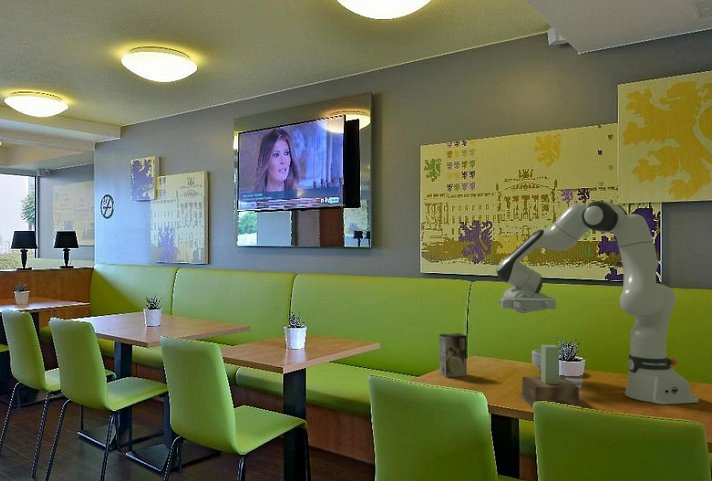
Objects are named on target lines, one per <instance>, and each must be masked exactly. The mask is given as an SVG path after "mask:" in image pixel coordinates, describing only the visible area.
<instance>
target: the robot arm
mask: <svg viewBox="0 0 712 481" xmlns="http://www.w3.org/2000/svg"><path fill="white" fill-rule="evenodd" d="M588 230H591V231H595V232H600V233H604V234H605V233H606V234H607V233H609V234H613V235H614V236H615V238H616V241H617V245H618V249H619V250H618V251H619V254H620V259H621V264H622V265H621V266H622V271H623V286H622V292H621V294H620V297H619V304H620V308H621V309H622V310H623V311H624V312H625V313H626V314H627V315H630V316H633V317H636V318H635V321H634V324H633V326H632V328H631V330H630V335H629V336H630V337H629V339H630V341H629V343H630V344H629V345H630V346H629V347H630V348H629V349H630V350H629V354H628V379H627V383H626V384H627V385H626V388H625V391H624V396H626V397H628V398H631V399H634V400H638V401H642V402H649V403H653V404H657V405H677V404H678V405H679V404H694V403H697V404H698V403H700V401H699V398H698V397H697V396H696V395H694V394H692V392H691V391H692V390H691V385H690V383H689V382H688V380H687V379H685V378H684V376H682V375H680V374H679V373H678V372H677V371H675V370H674V369H673V368H672V366H673V367H677V365H679V363H678V360H676V359H673V358H671V359H670V358H668V357H667V337H668V329H669V325H670V320H671V316H672V311H673V308H675V305H676V303H677V296H676V293H675V291H674V290H673V289H672V288H671V287H669V286H667V285H665V284H662V283H657V270H658V267H659V261H658V257H657V252H656V249H655V244H654V239H653V237H652V234H651V233H652V232H651V230H650V227H649V225H648V223H647V221H646V218H644V216H642V215H641V214H637V213H629V214H628V212H627V211H626V210H625V208H624V207H622V206H620V205H619V204H614V203H612V202H610V201H603V200H597V201H591V202H590V203H587V204H586V205H584V204H581V203H573V204H571V205H570V206H569V207H567V209H565V210H564V211H563V212H562V213H561V214H560V215H559V216H558V217H557V219H556V220H555V221H554V223H553V224H552V225H550V226H548V227H547V228H545V229H538V230H536V231H535V232H533V233H532V234H531V235H530V236H529V237H528V238H526V239H525V240H524V241H523V242H522V243H521V244H520V245H519V246H517V248H516V249H515V250H513V251H512V252H511V253H509V255H507V256H505V258H503V259H502V260H501V261H500V262H499V264H498V265H497V267H496V275H497V277H498V280H500V281H503V282H505V283H506V284H509V285H510V286H512V287H509V288H508V289H505V291H504V292H503V295H502V297H501V298H500V299H499V300H497V301H496V303H498V304H500V307H501V308H502V309H508V310H513V311H515V312H517V313H520V314H527V313H531V312H537V311H541V312H542V311H545V310H556V308H557V300H556V298H554V297H551V296H549V295H546V294H545V293H541V290H542V287H543V276H542V275H541V273H539V272H537V271H535V270H534V269H532V268H530V267H528V266H527V265H525V264H523V263H521V261H523V260H524V258H526V257H527V256H528V255H529V254H531V252H532V251H534V250H536V249H546V250H552V251H557V252H563V251H567V250H571V249H572V247H575V245H576V244H577V243H578V242H579V241H580V239H581V238H582V237H583V236H584V234H585V233H586V232H587V231H588Z"/></svg>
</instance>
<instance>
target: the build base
mask: <svg viewBox="0 0 712 481" xmlns="http://www.w3.org/2000/svg"><path fill="white" fill-rule="evenodd" d="M521 382H522V383H521V384H522V385H521V386H522V389H521V391H522V392H520V393H518V396H520V397H521V399H522V400H524V401H525V402H526V403H527V404H529V406H530V407H532V406H533V403H534V402H535V401H547V402H555V403H560V404H567V405H574V406H580V407H583V406H582V405H581V404H579V402H580V400H579V399H580V387H579V386H578V385H576V384H574V383H573V382H571V381H570V380H568V379H566V378H565V377H564V376H560V377H559V384H545V383H544V382H543V381H541V376H522V379H521Z"/></svg>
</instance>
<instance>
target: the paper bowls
mask: <svg viewBox="0 0 712 481" xmlns="http://www.w3.org/2000/svg"><path fill="white" fill-rule="evenodd" d="M531 363H532V364H533V365H535V366H536V368H537V370H538V371H539V372H541V349H535V350H534V349H533V350H532V351H531Z"/></svg>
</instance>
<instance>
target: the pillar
mask: <svg viewBox="0 0 712 481" xmlns="http://www.w3.org/2000/svg"><path fill="white" fill-rule="evenodd" d="M540 350H541V371H540V377H541V381H543V382H544V383H545V384H559V351H560V346H557V345H556V344H540Z"/></svg>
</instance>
